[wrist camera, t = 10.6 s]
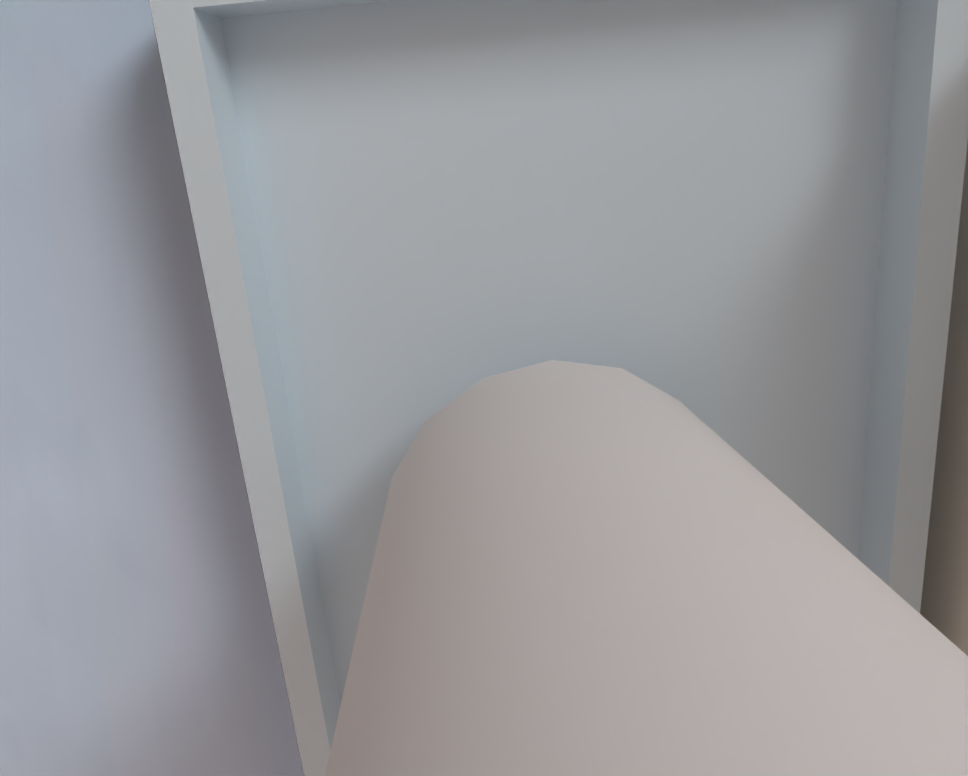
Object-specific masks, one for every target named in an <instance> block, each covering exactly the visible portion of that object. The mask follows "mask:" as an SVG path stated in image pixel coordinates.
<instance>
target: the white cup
mask: <svg viewBox="0 0 968 776" xmlns="http://www.w3.org/2000/svg"><path fill="white" fill-rule="evenodd" d="M325 776H968V656H967V655H966V654H965V653H964V652H963V651H961V650H960V649H959V648H958V647H957V646H956V645H955V644H953V643H952V642H951V641H950V640H949V639H948V638H947V637H946V636H944V635H943V634H942V633H941V632H940V631H939V630H938V629H937V628H935V627H934V626H933V625H932V624H931V623H930V622H929V621H928V620H926V619H925V618H924V617H923V616H922V615H921V614H920V613H918V612H917V611H916V610H915V609H914V608H913V607H912V606H911V605H909V604H908V603H907V602H906V601H905V600H904V599H903V598H902V597H900V596H899V595H898V594H897V593H896V592H895V591H894V590H892V589H891V588H890V587H889V586H888V585H887V584H886V583H885V582H883V581H882V580H881V579H880V578H879V577H878V576H877V575H876V574H874V573H873V572H872V571H871V570H870V569H869V568H868V567H866V566H865V565H864V564H863V563H862V562H861V561H860V560H859V559H857V558H856V557H855V556H854V555H853V554H852V553H851V552H850V551H848V550H847V549H846V548H845V547H844V546H843V545H842V544H840V543H839V542H838V541H837V540H836V539H835V538H834V537H833V536H831V535H830V534H829V533H828V532H827V531H826V530H825V529H824V528H822V527H821V526H820V525H819V524H818V523H817V522H816V521H814V520H813V519H812V518H811V517H810V516H809V515H808V514H807V513H805V512H804V511H803V510H802V509H801V508H800V507H799V506H798V505H796V504H795V503H794V502H793V501H792V500H791V499H790V498H788V497H787V496H786V495H785V494H784V493H783V492H782V491H781V490H779V489H778V488H777V487H776V486H775V485H774V484H773V483H772V482H770V481H769V480H768V479H767V478H766V477H765V476H764V475H762V474H761V473H760V472H759V471H758V470H757V469H756V468H755V467H753V466H752V465H751V464H750V463H749V462H748V461H747V460H746V459H744V458H743V457H742V456H741V455H740V454H739V453H738V452H736V451H735V450H734V449H733V448H732V447H731V446H730V445H729V444H727V443H726V442H725V441H724V440H723V439H722V438H721V437H720V436H718V435H717V434H716V433H715V432H714V431H713V430H712V429H710V428H709V427H708V426H707V425H706V424H705V423H704V422H703V421H701V420H700V419H699V418H698V417H697V416H696V415H695V414H694V413H692V412H691V411H690V410H689V409H688V408H687V407H686V406H684V405H683V403H682V402H681V401H679V400H677V399H676V398H674V397H672V396H670V395H669V394H667V393H665V392H663V391H662V390H660V389H658V388H656V387H655V386H653V385H651V384H649V383H648V382H646V381H644V380H642V379H640V378H639V377H637V376H635V375H633V374H632V373H630V372H628V371H626V370H625V369H623V368H616V367H608V366H599V365H591V364H583V363H574V362H566V361H557V360H550V361H546V362H543V363H539V364H535V365H531V366H528V367H524V368H520V369H516V370H513V371H509V372H505V373H501V374H498V375H494V376H490V377H486V378H483V379H481V380H480V381H478V382H477V383H476V384H474V385H473V386H472V387H470V388H469V389H468V390H466V391H465V392H464V393H462V394H461V395H460V396H458V397H457V398H455V399H454V400H453V401H451V402H450V403H449V404H447V405H446V406H445V407H443V408H442V409H441V410H439V411H438V412H437V413H435V414H434V415H433V416H431V417H430V418H429V419H427V420H426V421H425V422H424V424H423V426H422V427H421V429H420V431H419V432H418V434H417V436H416V438H415V439H414V441H413V443H412V444H411V446H410V448H409V449H408V451H407V453H406V454H405V456H404V458H403V459H402V461H401V463H400V464H399V466H398V468H397V469H396V471H395V473H394V474H393V476H392V478H391V484H390V489H389V493H388V497H387V502H386V506H385V511H384V515H383V520H382V524H381V528H380V533H379V537H378V542H377V546H376V551H375V555H374V559H373V564H372V568H371V573H370V577H369V582H368V586H367V590H366V595H365V599H364V604H363V608H362V613H361V617H360V621H359V626H358V630H357V635H356V639H355V644H354V648H353V652H352V657H351V661H350V666H349V670H348V675H347V679H346V683H345V688H344V692H343V697H342V701H341V706H340V710H339V714H338V719H337V723H336V728H335V732H334V737H333V741H332V745H331V750H330V754H329V759H328V763H327V768H326V772H325Z"/></svg>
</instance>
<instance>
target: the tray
mask: <svg viewBox="0 0 968 776" xmlns="http://www.w3.org/2000/svg"><path fill="white" fill-rule="evenodd" d="M149 3H150V8H151V13H152V18H153V23H154V28H155V33H156V38H157V43H158V48H159V53H160V58H161V63H162V68H163V73H164V78H165V83H166V88H167V93H168V98H169V103H170V108H171V113H172V118H173V123H174V128H175V133H176V138H177V143H178V148H179V153H180V158H181V163H182V168H183V173H184V178H185V183H186V188H187V193H188V198H189V203H190V208H191V213H192V218H193V223H194V228H195V233H196V238H197V243H198V248H199V253H200V258H201V263H202V268H203V273H204V278H205V283H206V288H207V293H208V298H209V303H210V308H211V313H212V318H213V323H214V328H215V333H216V338H217V343H218V348H219V353H220V358H221V363H222V368H223V373H224V378H225V383H226V388H227V393H228V398H229V403H230V408H231V413H232V418H233V423H234V428H235V433H236V438H237V443H238V448H239V453H240V458H241V463H242V468H243V473H244V478H245V483H246V488H247V493H248V498H249V503H250V508H251V513H252V518H253V523H254V528H255V533H256V538H257V543H258V548H259V553H260V558H261V563H262V568H263V573H264V578H265V583H266V588H267V593H268V598H269V603H270V608H271V613H272V618H273V623H274V628H275V633H276V638H277V643H278V648H279V653H280V658H281V663H282V668H283V673H284V678H285V683H286V688H287V693H288V698H289V703H290V708H291V713H292V718H293V723H294V728H295V733H296V738H297V743H298V748H299V753H300V758H301V763H302V768H303V773H304V776H325V772H326V768H327V763H328V759H329V754H330V750H331V745H332V741H333V737H334V732H335V728H336V723H337V719H338V714H339V710H340V706H341V701H342V697H343V692H344V688H345V683H346V679H347V675H348V670H349V666H350V661H351V657H352V652H353V648H354V644H355V639H356V635H357V630H358V626H359V621H360V617H361V613H362V608H363V604H364V599H365V595H366V590H367V586H368V582H369V577H370V573H371V568H372V564H373V559H374V555H375V551H376V546H377V542H378V537H379V533H380V528H381V524H382V520H383V515H384V511H385V506H386V502H387V497H388V493H389V489H390V484H391V478H392V476H393V474H394V473H395V471H396V469H397V468H398V466H399V464H400V463H401V461H402V459H403V458H404V456H405V454H406V453H407V451H408V449H409V448H410V446H411V444H412V443H413V441H414V439H415V438H416V436H417V434H418V432H419V431H420V429H421V427H422V426H423V424H424V422H425V421H426V420H427V419H429V418H430V417H431V416H433V415H434V414H435V413H437V412H438V411H439V410H441V409H442V408H443V407H445V406H446V405H447V404H449V403H450V402H451V401H453V400H454V399H455V398H457V397H458V396H460V395H461V394H462V393H464V392H465V391H466V390H468V389H469V388H470V387H472V386H473V385H474V384H476V383H477V382H478V381H480V380H481V379H483V378H486V377H490V376H494V375H498V374H501V373H505V372H509V371H513V370H516V369H520V368H524V367H528V366H531V365H535V364H539V363H543V362H546V361H550V360H557V361H566V362H574V363H583V364H591V365H599V366H608V367H616V368H623V369H625V370H626V371H628V372H630V373H632V374H633V375H635V376H637V377H639V378H640V379H642V380H644V381H646V382H648V383H649V384H651V385H653V386H655V387H656V388H658V389H660V390H662V391H663V392H665V393H667V394H669V395H670V396H672V397H674V398H676V399H677V400H679V401H681V402H682V403H683V405H684V406H686V407H687V408H688V409H689V410H690V411H691V412H692V413H694V414H695V415H696V416H697V417H698V418H699V419H700V420H701V421H703V422H704V423H705V424H706V425H707V426H708V427H709V428H710V429H712V430H713V431H714V432H715V433H716V434H717V435H718V436H720V437H721V438H722V439H723V440H724V441H725V442H726V443H727V444H729V445H730V446H731V447H732V448H733V449H734V450H735V451H736V452H738V453H739V454H740V455H741V456H742V457H743V458H744V459H746V460H747V461H748V462H749V463H750V464H751V465H752V466H753V467H755V468H756V469H757V470H758V471H759V472H760V473H761V474H762V475H764V476H765V477H766V478H767V479H768V480H769V481H770V482H772V483H773V484H774V485H775V486H776V487H777V488H778V489H779V490H781V491H782V492H783V493H784V494H785V495H786V496H787V497H788V498H790V499H791V500H792V501H793V502H794V503H795V504H796V505H798V506H799V507H800V508H801V509H802V510H803V511H804V512H805V513H807V514H808V515H809V516H810V517H811V518H812V519H813V520H814V521H816V522H817V523H818V524H819V525H820V526H821V527H822V528H824V529H825V530H826V531H827V532H828V533H829V534H830V535H831V536H833V537H834V538H835V539H836V540H837V541H838V542H839V543H840V544H842V545H843V546H844V547H845V548H846V549H847V550H848V551H850V552H851V553H852V554H853V555H854V556H855V557H856V558H857V559H859V560H860V561H861V562H862V563H863V564H864V565H865V566H866V567H868V568H869V569H870V570H871V571H872V572H873V573H874V574H876V575H877V576H878V577H879V578H880V579H881V580H882V581H883V582H885V583H886V584H887V585H888V586H889V587H890V588H891V589H892V590H894V591H895V592H896V593H897V594H898V595H899V596H900V597H902V598H903V599H904V600H905V601H906V602H907V603H908V604H909V605H911V606H912V607H913V608H914V609H915V610H916V611H917V612H918V613H920V608H921V598H922V588H923V578H924V569H925V559H926V549H927V539H928V529H929V519H930V509H931V499H932V489H933V479H934V469H935V459H936V450H937V440H938V430H939V420H940V410H941V400H942V390H943V380H944V370H945V360H946V350H947V340H948V330H949V321H950V311H951V301H952V291H953V281H954V271H955V261H956V251H957V241H958V231H959V221H960V211H961V202H962V192H963V182H964V172H965V162H966V152H967V142H968V0H149Z"/></svg>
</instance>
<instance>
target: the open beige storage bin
mask: <svg viewBox="0 0 968 776" xmlns="http://www.w3.org/2000/svg"><path fill="white" fill-rule="evenodd" d="M920 614H921V615H922V616H923V617H924V618H925V619H926V620H928V621H929V622H930V623H931V624H932V625H933V626H934V627H935V628H937V629H938V630H939V631H940V632H941V633H942V634H943V635H944V636H946V637H947V638H948V639H949V640H950V641H951V642H952V643H953V644H955V645H956V646H957V647H958V648H959V649H960V650H961V651H963V652H964V653H965V654H966V655H967V656H968V142H967V152H966V162H965V172H964V182H963V192H962V202H961V211H960V221H959V231H958V241H957V251H956V261H955V271H954V281H953V291H952V301H951V311H950V321H949V330H948V340H947V350H946V360H945V370H944V380H943V390H942V400H941V410H940V420H939V430H938V440H937V450H936V459H935V469H934V479H933V489H932V499H931V509H930V519H929V529H928V539H927V549H926V559H925V569H924V578H923V588H922V598H921V608H920Z"/></svg>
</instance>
